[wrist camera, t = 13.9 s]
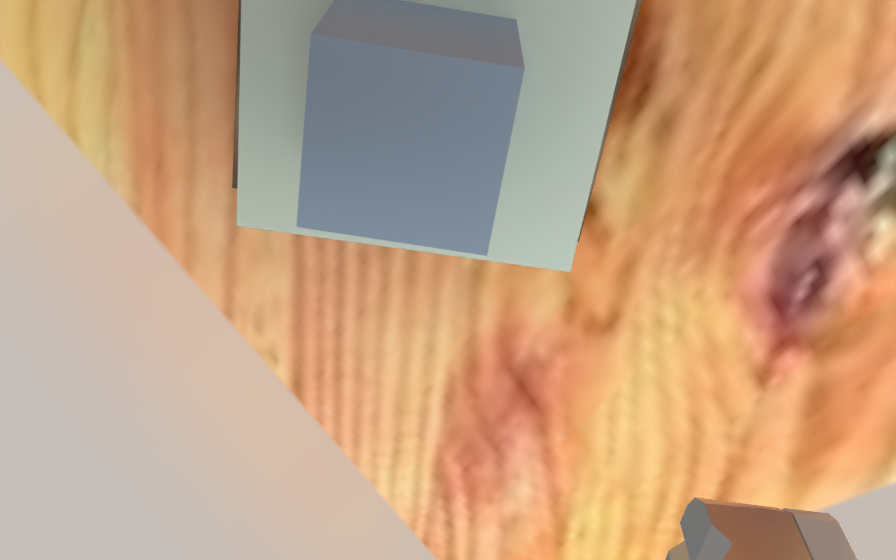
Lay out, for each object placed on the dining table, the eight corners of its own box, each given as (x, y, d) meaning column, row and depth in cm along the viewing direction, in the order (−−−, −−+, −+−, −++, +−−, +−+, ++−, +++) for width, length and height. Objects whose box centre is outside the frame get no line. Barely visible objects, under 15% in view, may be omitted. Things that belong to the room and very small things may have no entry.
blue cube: (341, -10, 24) (310, 34, 20) (516, 19, 24) (524, 68, 20) (326, 155, 26) (296, 226, 22) (485, 180, 27) (487, 255, 22)
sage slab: (275, -157, 26) (244, -150, 22) (633, -101, 26) (656, -85, 23) (263, 177, 31) (236, 225, 28) (559, 219, 32) (570, 271, 28)
